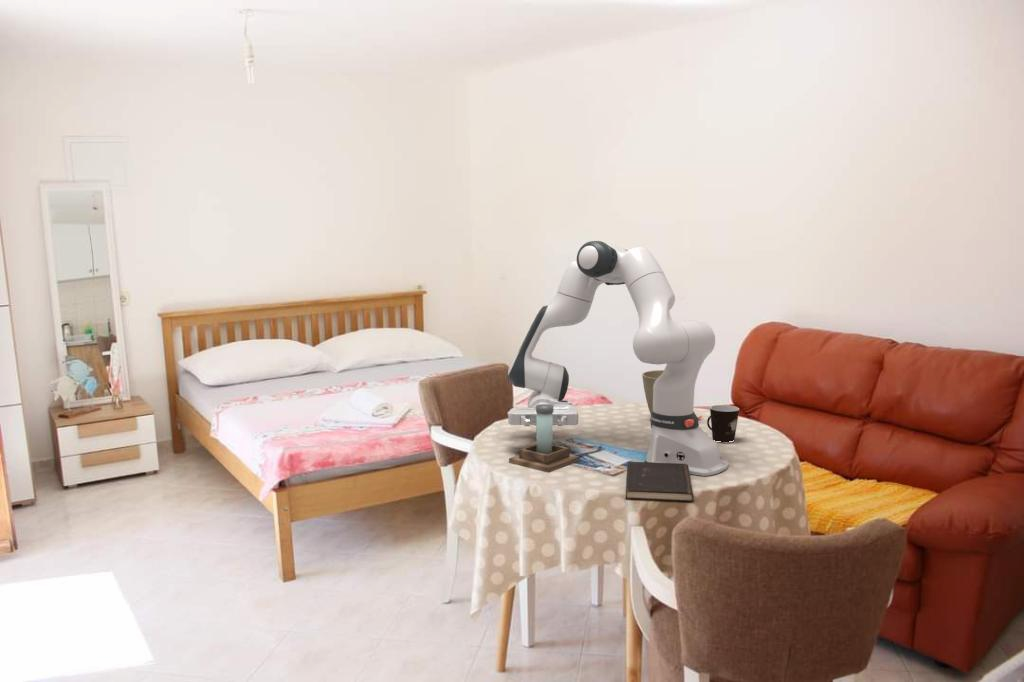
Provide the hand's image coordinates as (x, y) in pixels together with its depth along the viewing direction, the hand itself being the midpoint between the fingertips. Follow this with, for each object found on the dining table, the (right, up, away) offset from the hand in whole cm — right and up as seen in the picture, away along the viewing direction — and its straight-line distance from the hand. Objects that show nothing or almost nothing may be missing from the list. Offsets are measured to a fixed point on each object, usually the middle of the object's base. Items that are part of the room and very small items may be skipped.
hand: (543, 423), depth 237 cm
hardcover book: (+28, -14, -22) cm, 39 cm away
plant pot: (+41, -4, +43) cm, 60 cm away
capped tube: (0, -9, -1) cm, 9 cm away
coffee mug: (+54, -7, +19) cm, 58 cm away
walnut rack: (0, -11, -1) cm, 11 cm away
